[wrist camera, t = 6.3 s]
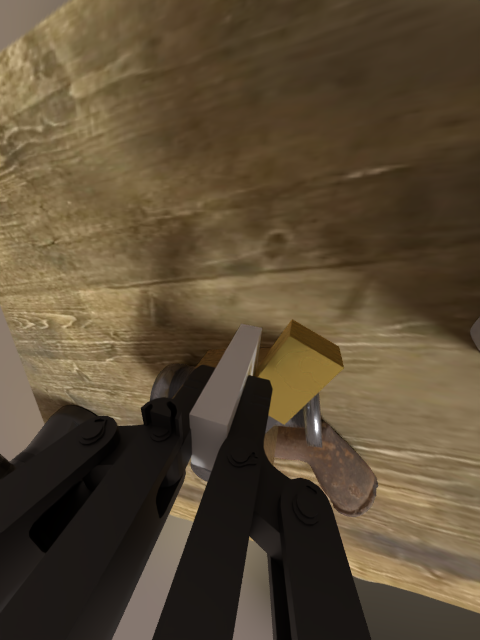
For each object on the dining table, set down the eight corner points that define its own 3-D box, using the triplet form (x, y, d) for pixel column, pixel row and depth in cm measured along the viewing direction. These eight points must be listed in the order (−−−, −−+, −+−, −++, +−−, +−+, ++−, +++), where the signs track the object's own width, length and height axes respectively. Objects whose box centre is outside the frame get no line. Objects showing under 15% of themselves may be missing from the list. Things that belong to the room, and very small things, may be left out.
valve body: (196, 397, 31) (153, 465, 23) (178, 350, 28) (122, 408, 20) (320, 403, 25) (326, 497, 17) (314, 345, 22) (318, 424, 14)
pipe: (220, 444, 27) (243, 507, 28) (371, 449, 20) (389, 530, 22) (237, 411, 32) (256, 465, 34) (359, 406, 26) (374, 473, 28)
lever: (223, 468, 19) (216, 491, 17) (194, 450, 19) (184, 471, 17) (340, 347, 11) (346, 369, 9) (290, 318, 11) (287, 334, 10)
